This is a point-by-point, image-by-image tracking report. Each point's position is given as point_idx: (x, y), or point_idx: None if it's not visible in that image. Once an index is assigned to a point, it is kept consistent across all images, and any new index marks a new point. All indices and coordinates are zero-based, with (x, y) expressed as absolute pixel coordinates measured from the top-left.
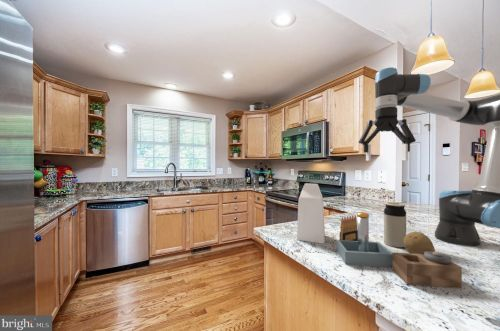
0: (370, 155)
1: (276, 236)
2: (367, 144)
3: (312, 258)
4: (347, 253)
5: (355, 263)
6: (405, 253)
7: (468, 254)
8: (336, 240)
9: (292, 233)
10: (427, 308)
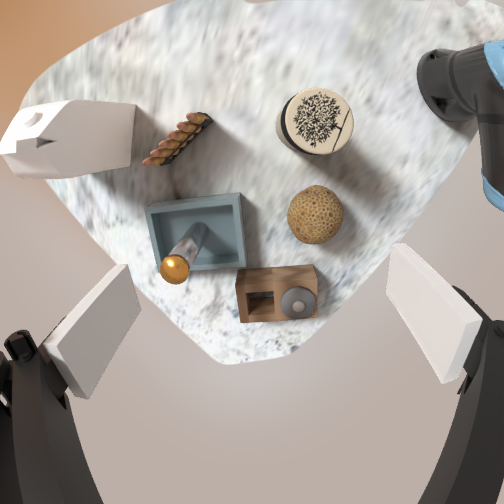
0: (125, 332)
1: None
2: (63, 386)
3: (115, 252)
4: None
5: None
6: (257, 285)
7: (419, 165)
8: (145, 208)
9: None
10: (242, 344)
